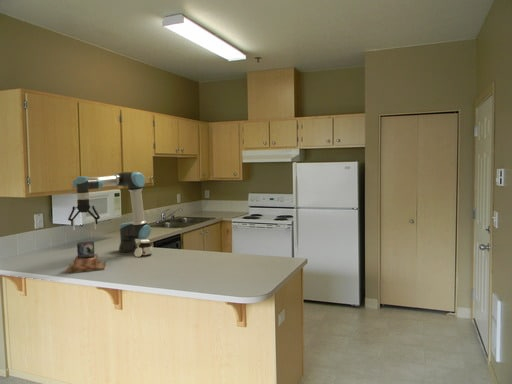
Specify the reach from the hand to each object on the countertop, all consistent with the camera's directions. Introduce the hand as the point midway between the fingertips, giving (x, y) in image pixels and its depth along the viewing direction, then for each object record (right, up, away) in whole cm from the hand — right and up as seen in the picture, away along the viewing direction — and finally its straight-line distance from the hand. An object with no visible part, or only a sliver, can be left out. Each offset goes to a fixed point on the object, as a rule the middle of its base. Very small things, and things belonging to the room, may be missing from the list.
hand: (84, 229), depth 287 cm
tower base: (0, -27, +2) cm, 27 cm away
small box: (+1, -19, +1) cm, 19 cm away
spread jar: (+31, -24, +36) cm, 53 cm away
